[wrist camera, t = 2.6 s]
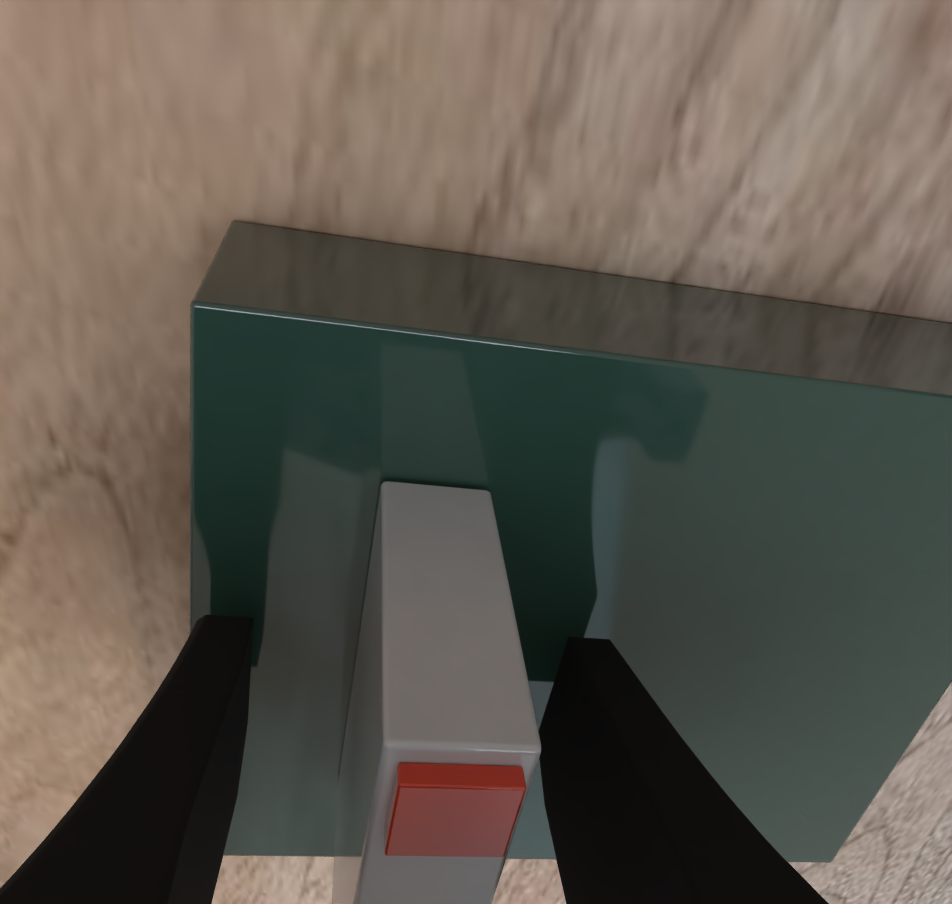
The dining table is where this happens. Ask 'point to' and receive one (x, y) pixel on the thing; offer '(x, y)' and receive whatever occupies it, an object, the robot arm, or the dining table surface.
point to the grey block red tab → (433, 709)
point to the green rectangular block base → (579, 508)
